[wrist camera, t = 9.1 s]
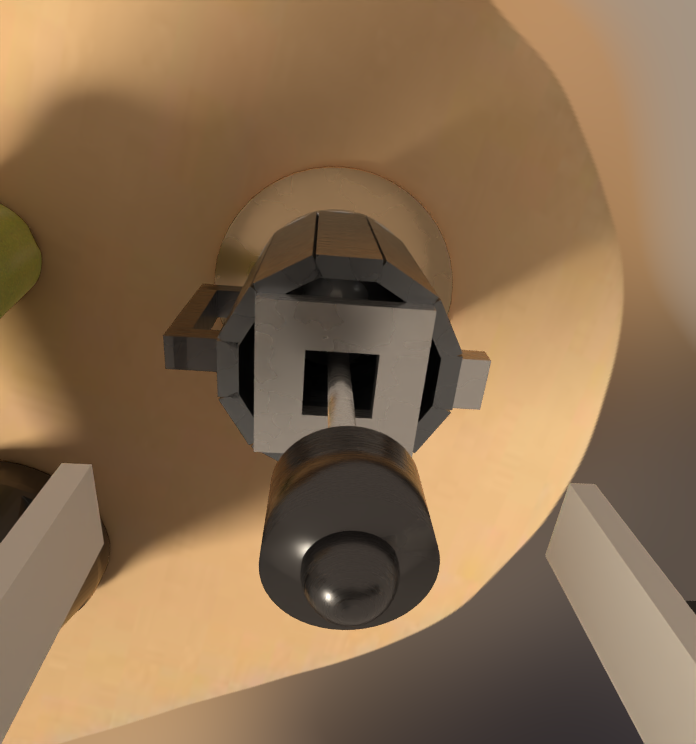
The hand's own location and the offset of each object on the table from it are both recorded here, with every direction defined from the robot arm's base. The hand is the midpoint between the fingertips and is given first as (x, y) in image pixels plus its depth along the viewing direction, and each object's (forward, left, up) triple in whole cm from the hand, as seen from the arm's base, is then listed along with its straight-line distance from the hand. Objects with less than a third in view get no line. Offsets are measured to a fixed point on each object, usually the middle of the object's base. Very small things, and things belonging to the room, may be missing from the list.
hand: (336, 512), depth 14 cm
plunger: (0, 0, -18) cm, 18 cm away
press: (0, 0, -21) cm, 21 cm away
